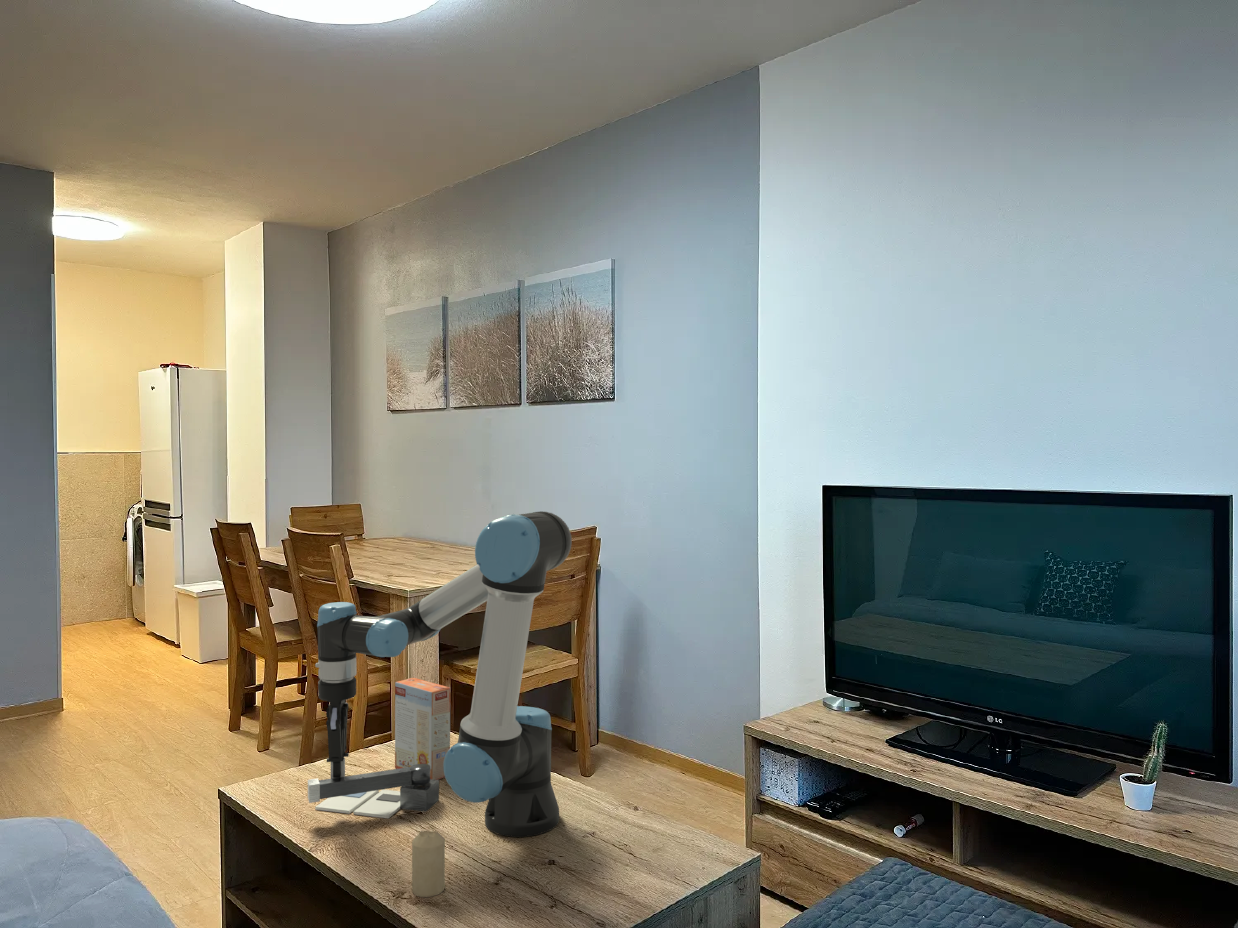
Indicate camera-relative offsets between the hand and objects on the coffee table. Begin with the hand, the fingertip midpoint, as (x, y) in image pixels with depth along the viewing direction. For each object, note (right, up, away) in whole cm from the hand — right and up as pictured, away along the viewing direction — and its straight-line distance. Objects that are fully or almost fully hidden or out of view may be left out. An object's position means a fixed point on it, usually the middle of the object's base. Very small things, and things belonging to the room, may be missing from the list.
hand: (337, 790), depth 182 cm
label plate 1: (0, -5, +7) cm, 8 cm away
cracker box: (+12, -5, +23) cm, 27 cm away
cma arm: (+7, 0, +1) cm, 7 cm away
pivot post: (+16, -5, +5) cm, 17 cm away
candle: (+25, -6, -30) cm, 40 cm away
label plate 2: (+9, -5, +5) cm, 11 cm away
